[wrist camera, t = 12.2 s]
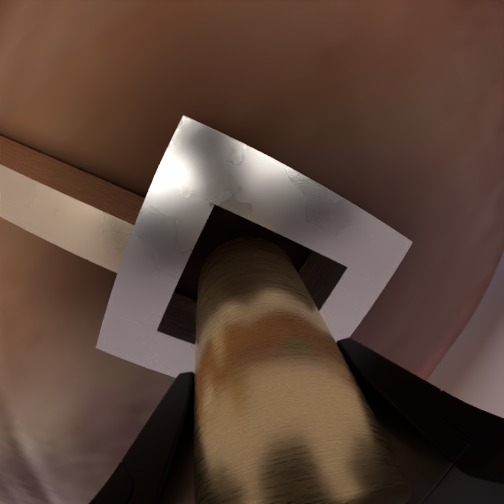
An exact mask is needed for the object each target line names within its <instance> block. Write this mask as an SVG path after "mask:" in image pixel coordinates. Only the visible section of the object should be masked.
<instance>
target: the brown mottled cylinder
mask: <svg viewBox="0 0 504 504" xmlns="http://www.w3.org/2000/svg"><path fill="white" fill-rule="evenodd" d="M194 483H195V504H405V503H406V502H407V501H408V500H409V498H410V497H411V494H412V490H411V488H410V486H409V484H408V482H407V480H406V478H405V475H404V473H403V471H402V469H401V467H400V465H399V463H398V461H397V459H396V457H395V455H394V453H393V451H392V449H391V447H390V445H389V443H388V441H387V439H386V437H385V435H384V433H383V431H382V429H381V427H380V425H379V423H378V421H377V419H376V417H375V415H374V414H373V412H372V410H371V408H370V406H369V404H368V402H367V400H366V398H365V396H364V394H363V392H362V390H361V388H360V387H359V385H358V383H357V381H356V379H355V377H354V375H353V373H352V371H351V370H350V368H349V366H348V364H347V362H346V360H345V358H344V356H343V355H342V353H341V351H340V349H339V347H338V345H337V343H336V342H335V340H334V338H333V336H332V334H331V332H330V330H329V329H328V327H327V325H326V323H325V321H324V319H323V318H322V316H321V314H320V312H319V310H318V309H317V307H316V305H315V303H314V301H313V300H312V298H311V296H310V294H309V292H308V291H307V289H306V287H305V285H304V283H303V282H302V280H301V278H300V276H299V275H298V273H297V271H296V269H295V267H294V266H293V264H292V262H291V260H290V259H289V257H288V256H287V254H286V253H285V252H284V251H283V250H282V249H281V248H280V247H278V246H277V245H276V244H274V243H272V242H270V241H267V240H265V239H261V238H254V237H244V238H238V239H234V240H231V241H228V242H226V243H224V244H222V245H220V246H219V247H217V248H216V249H215V250H214V251H213V252H212V253H211V254H210V255H209V256H208V257H207V258H206V260H205V261H204V263H203V265H202V267H201V270H200V274H199V281H198V298H197V318H196V341H195V373H194Z"/></svg>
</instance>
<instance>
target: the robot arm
mask: <svg viewBox="0 0 504 504" xmlns="http://www.w3.org/2000/svg"><path fill="white" fill-rule="evenodd" d="M336 343H337V345H338V347H339V349H340V351H341V353H342V355H343V356H344V358H345V360H346V362H347V364H348V366H349V368H350V370H351V371H352V373H353V375H354V377H355V379H356V381H357V383H358V385H359V387H360V388H361V390H362V392H363V394H364V396H365V398H366V400H367V402H368V404H369V406H370V408H371V410H372V412H373V414H374V415H375V417H376V419H377V421H378V423H379V425H380V427H381V429H382V431H383V433H384V435H385V437H386V439H387V441H388V443H389V445H390V447H391V449H392V451H393V453H394V455H395V457H396V459H397V461H398V463H399V465H400V467H401V469H402V471H403V473H404V475H405V478H406V480H407V482H408V484H409V486H410V488H411V490H412V494H411V497H410V498H409V500H408V501H407V502H406V503H405V504H504V418H501V417H499V416H496V415H493V414H491V413H489V412H486V411H484V410H481V409H479V408H477V407H474V406H472V405H469V404H467V403H465V402H463V401H462V400H459V399H458V398H456V397H453V396H452V395H450V394H448V393H447V392H445V391H441V390H440V389H439V388H437V387H436V386H434V385H432V384H430V383H429V382H427V381H425V380H423V379H421V378H420V377H418V376H416V375H414V374H413V373H411V372H409V371H407V370H406V369H404V368H402V367H400V366H399V365H397V364H395V363H393V362H392V361H390V360H388V359H387V358H385V357H383V356H381V355H380V354H378V353H376V352H374V351H373V350H371V349H369V348H368V347H366V346H364V345H363V344H361V343H359V342H357V341H356V340H354V339H352V338H350V337H348V338H344V339H341V340H338V341H337V342H336ZM122 461H123V462H120V463H119V465H118V466H117V468H116V469H115V471H114V472H113V474H112V475H111V476H110V478H109V479H108V481H107V482H106V483H105V485H104V486H103V487H102V488H101V490H100V491H99V492H98V493H97V495H96V496H95V497H94V498H93V499H92V501H91V502H90V503H89V504H195V483H194V372H184V373H180V374H178V376H177V377H176V379H175V380H174V382H173V383H172V385H171V386H170V388H169V389H168V391H167V392H166V394H165V395H164V397H163V399H162V400H161V402H160V403H159V405H158V406H157V408H156V409H155V411H154V412H153V414H152V415H151V417H150V418H149V420H148V421H147V423H146V424H145V426H144V427H143V429H142V430H141V432H140V433H139V435H138V436H137V438H136V439H135V441H134V442H133V444H132V445H131V447H130V448H129V450H128V451H127V453H126V454H125V456H124V457H123V459H122Z"/></svg>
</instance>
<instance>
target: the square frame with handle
mask: <svg viewBox="0 0 504 504" xmlns="http://www.w3.org/2000/svg"><path fill="white" fill-rule="evenodd" d="M214 205H218V206H220V207H222V208H224V209H226V210H228V211H231V212H233V213H235V214H237V215H239V216H241V217H244V218H246V219H248V220H250V221H252V222H254V223H257V224H259V225H261V226H263V227H265V228H267V229H269V230H271V231H274V232H276V233H278V234H280V235H282V236H284V237H286V238H288V239H290V240H293V241H295V242H297V243H299V244H301V245H303V246H305V247H307V248H309V249H311V250H312V251H311V252H310V254H309V256H308V257H307V259H306V261H305V262H304V264H303V266H302V267H301V269H300V271H299V272H298V275H299V276H300V278H301V280H302V282H303V283H304V285H305V287H306V289H307V291H308V292H309V294H310V296H311V298H312V300H313V301H314V303H315V305H316V307H317V309H318V310H319V312H320V314H321V316H322V318H323V319H324V321H325V323H326V325H327V327H328V329H329V330H330V332H331V334H332V336H333V338H334V340H335V342H337V341H338V340H341V339H344V338H348V337H350V336H351V334H352V333H353V332H354V330H355V329H356V328H357V326H358V325H359V323H360V322H361V321H362V319H363V318H364V317H365V315H366V314H367V312H368V311H369V309H370V308H371V307H372V305H373V304H374V302H375V301H376V299H377V298H378V296H379V295H380V293H381V292H382V290H383V289H384V287H385V286H386V284H387V283H388V281H389V280H390V278H391V277H392V275H393V274H394V272H395V271H396V269H397V267H398V266H399V264H400V263H401V261H402V259H403V258H404V256H405V254H406V253H407V251H408V249H409V248H410V246H411V244H412V243H413V242H412V241H410V240H409V239H407V238H406V237H404V236H403V235H401V234H400V233H398V232H397V231H395V230H394V229H392V228H391V227H389V226H388V225H386V224H385V223H383V222H382V221H380V220H378V219H377V218H375V217H374V216H372V215H371V214H369V213H367V212H366V211H364V210H362V209H361V208H359V207H358V206H356V205H354V204H353V203H351V202H349V201H348V200H346V199H344V198H343V197H341V196H339V195H338V194H336V193H334V192H333V191H331V190H329V189H327V188H326V187H324V186H322V185H320V184H319V183H317V182H315V181H313V180H312V179H310V178H308V177H306V176H304V175H303V174H301V173H299V172H297V171H295V170H294V169H292V168H290V167H288V166H286V165H284V164H282V163H281V162H279V161H277V160H275V159H273V158H271V157H269V156H267V155H265V154H263V153H261V152H259V151H258V150H256V149H254V148H252V147H250V146H248V145H246V144H244V143H242V142H240V141H237V140H235V139H233V138H231V137H229V136H227V135H225V134H223V133H221V132H219V131H217V130H214V129H212V128H210V127H208V126H206V125H204V124H201V123H199V122H197V121H195V120H193V119H190V118H188V117H186V116H184V115H183V117H182V119H181V121H180V123H179V125H178V127H177V129H176V131H175V133H174V135H173V137H172V139H171V141H170V143H169V146H168V148H167V150H166V152H165V154H164V156H163V158H162V161H161V163H160V165H159V167H158V170H157V172H156V174H155V176H154V179H153V181H152V183H151V186H150V188H149V190H148V193H147V195H146V198H143V197H141V196H139V195H137V194H134V193H132V192H130V191H127V190H125V189H123V188H121V187H118V186H116V185H114V184H111V183H109V182H107V181H104V180H102V179H100V178H98V177H95V176H93V175H91V174H88V173H86V172H84V171H81V170H79V169H77V168H75V167H72V166H70V165H68V164H65V163H63V162H61V161H58V160H56V159H54V158H51V157H49V156H47V155H44V154H42V153H40V152H38V151H35V150H33V149H31V148H28V147H26V146H24V145H21V144H19V143H17V142H14V141H12V140H10V139H7V138H5V137H3V136H0V217H2V218H4V219H6V220H8V221H10V222H11V223H13V224H15V225H17V226H19V227H21V228H23V229H25V230H27V231H29V232H31V233H33V234H35V235H37V236H39V237H41V238H43V239H45V240H47V241H49V242H51V243H53V244H55V245H57V246H59V247H61V248H63V249H65V250H67V251H69V252H72V253H74V254H76V255H78V256H80V257H82V258H84V259H87V260H89V261H91V262H93V263H95V264H98V265H100V266H102V267H104V268H106V269H109V270H111V271H113V272H116V273H117V276H116V279H115V283H114V286H113V289H112V292H111V295H110V299H109V302H108V305H107V309H106V312H105V316H104V319H103V323H102V326H101V330H100V334H99V337H98V341H97V345H96V348H97V349H100V350H102V351H104V352H107V353H109V354H112V355H114V356H117V357H119V358H122V359H124V360H127V361H130V362H132V363H135V364H138V365H140V366H143V367H146V368H149V369H151V370H154V371H157V372H160V373H163V374H166V375H169V376H172V377H175V378H176V377H177V376H178V374H180V373H184V372H194V373H195V341H196V318H197V301H196V300H194V299H191V298H188V297H186V296H183V295H181V294H178V293H176V292H174V290H175V288H176V285H177V283H178V281H179V279H180V277H181V274H182V272H183V270H184V268H185V266H186V263H187V261H188V259H189V257H190V255H191V253H192V251H193V248H194V246H195V244H196V242H197V240H198V238H199V236H200V234H201V232H202V229H203V227H204V225H205V223H206V221H207V219H208V217H209V215H210V213H211V211H212V209H213V207H214Z"/></svg>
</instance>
